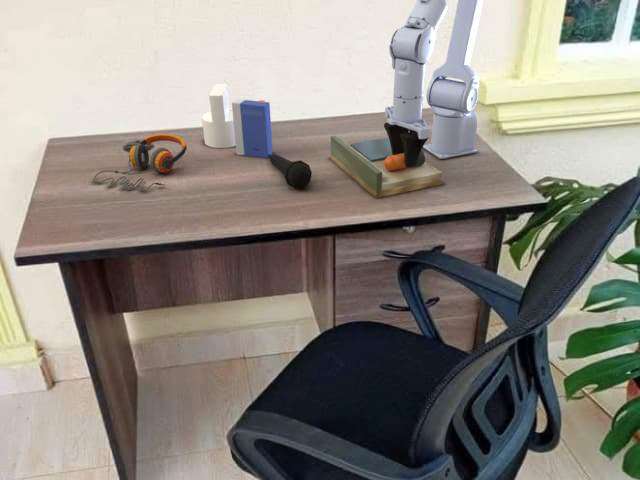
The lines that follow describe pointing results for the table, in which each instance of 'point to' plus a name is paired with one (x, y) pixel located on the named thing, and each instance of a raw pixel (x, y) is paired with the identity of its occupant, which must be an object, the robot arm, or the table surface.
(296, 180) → the microphone
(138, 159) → the headphones
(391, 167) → the orange capsule container
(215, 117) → the base with upright slab
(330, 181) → the table surface
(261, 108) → the walkman
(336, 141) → the bed
